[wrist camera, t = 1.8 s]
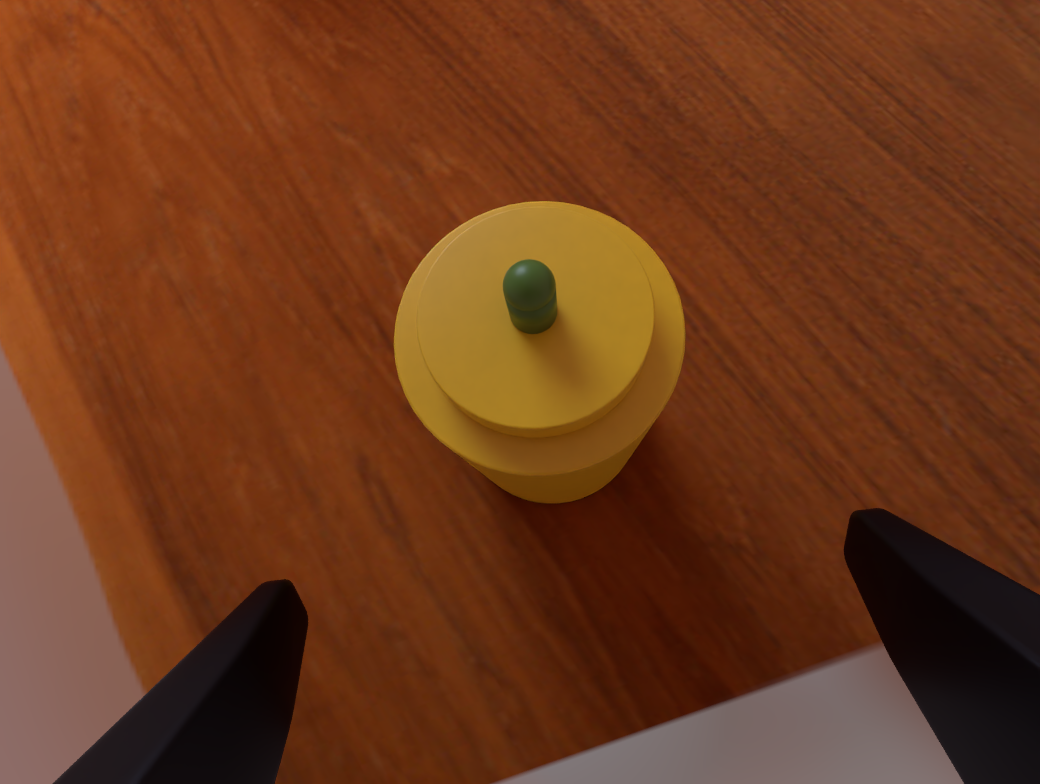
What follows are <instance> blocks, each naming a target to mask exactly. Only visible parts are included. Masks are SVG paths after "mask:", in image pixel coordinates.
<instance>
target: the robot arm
mask: <svg viewBox="0 0 1040 784" xmlns="http://www.w3.org/2000/svg"><path fill="white" fill-rule="evenodd" d="M844 556H845V560H846V563H847V566H848V568H849V570H850V572H851V575H852V577H853V579H854V581H855V583H856V585H857V588H858V590H859V592H860V594H861V596H862V598H863V601H864V603H865V605H866V607H867V609H868V611H869V614H870V616H871V618H872V620H873V622H874V625H875V627H876V629H877V631H878V633H879V635H880V638H881V640H882V642H883V644H884V646H885V648H886V650H887V652H888V654H889V656H890V658H891V660H892V662H893V663H894V665H895V667H896V669H897V670H898V672H899V674H900V676H901V677H902V679H903V681H904V682H905V684H906V686H907V687H908V689H909V691H910V693H911V694H912V696H913V698H914V699H915V701H916V702H917V704H918V706H919V708H920V710H921V711H922V713H923V714H924V716H925V718H926V719H927V721H928V723H929V725H930V726H931V728H932V730H933V731H934V733H935V735H936V736H937V738H938V740H939V742H940V743H941V745H942V747H943V748H944V750H945V752H946V753H947V755H948V757H949V759H950V760H951V762H952V764H953V765H954V767H955V769H956V770H957V772H958V774H959V775H960V777H961V779H962V781H963V782H964V784H1040V595H1039V594H1037V593H1035V592H1034V591H1032V590H1030V589H1028V588H1026V587H1025V586H1023V585H1021V584H1019V583H1017V582H1015V581H1014V580H1012V579H1010V578H1008V577H1006V576H1005V575H1003V574H1001V573H999V572H997V571H995V570H994V569H992V568H990V567H988V566H986V565H985V564H983V563H981V562H979V561H977V560H976V559H974V558H972V557H970V556H968V555H966V554H965V553H963V552H961V551H959V550H957V549H956V548H954V547H952V546H950V545H948V544H947V543H945V542H943V541H941V540H939V539H937V538H936V537H934V536H932V535H930V534H928V533H927V532H925V531H923V530H921V529H919V528H917V527H916V526H914V525H912V524H910V523H908V522H907V521H905V520H903V519H901V518H899V517H898V516H896V515H894V514H892V513H890V512H888V511H886V510H884V509H881V508H873V509H865V510H857V511H854V512H853V513H852V514H851V516H850V519H849V524H848V529H847V534H846V539H845V545H844ZM307 629H308V615H307V611H306V609H305V607H304V605H303V603H302V601H301V599H300V597H299V595H298V593H297V591H296V589H295V587H294V585H293V583H292V582H291V581H289V580H286V579H283V580H275V581H267V582H264V583H262V584H261V585H260V586H258V587H257V588H256V589H255V590H254V591H253V592H252V593H251V594H250V595H249V596H248V597H247V598H246V599H245V600H244V601H243V602H242V603H241V604H240V605H239V606H238V607H237V608H235V609H234V610H233V611H232V612H231V613H230V614H229V615H228V616H227V617H226V618H225V619H224V620H223V621H222V622H221V623H220V624H219V625H218V626H217V627H216V628H215V629H214V630H213V631H211V632H210V633H209V634H208V635H207V636H206V637H205V638H204V639H203V640H202V641H201V642H200V643H199V644H198V645H197V646H196V647H195V648H194V649H193V650H192V651H191V652H190V653H189V654H187V655H186V656H185V657H184V658H183V659H182V660H181V661H180V662H179V663H178V664H177V665H176V666H175V667H174V668H173V669H172V670H171V671H170V672H169V673H168V674H167V675H166V676H165V677H163V678H162V679H161V680H160V681H159V682H158V683H157V684H156V685H155V686H154V687H153V688H152V689H151V690H150V691H149V692H148V693H147V694H146V695H145V696H144V697H143V698H142V699H141V700H139V701H138V702H137V703H136V704H135V705H134V706H133V707H132V708H131V709H130V710H129V711H128V712H127V713H126V714H125V715H124V716H123V717H122V718H121V719H120V720H119V721H118V722H117V723H115V724H114V726H112V727H111V728H110V729H109V730H108V731H107V732H106V733H105V734H104V735H103V736H102V737H101V738H100V739H99V740H98V741H97V742H96V743H95V744H94V745H93V746H92V747H90V748H89V749H88V750H87V751H86V752H85V753H84V754H83V755H82V756H81V757H80V758H79V759H78V760H77V761H76V762H75V763H74V764H73V765H72V766H71V767H70V768H69V769H68V770H67V771H66V772H64V773H63V774H62V775H61V776H60V777H59V778H58V779H57V780H56V781H55V782H54V783H53V784H274V783H275V780H276V776H277V773H278V769H279V765H280V762H281V758H282V754H283V751H284V747H285V744H286V740H287V736H288V732H289V728H290V724H291V720H292V715H293V710H294V705H295V699H296V694H297V688H298V682H299V676H300V670H301V664H302V658H303V652H304V646H305V640H306V635H307Z"/></svg>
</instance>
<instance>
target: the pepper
mask: <svg viewBox="0 0 1040 784" xmlns="http://www.w3.org/2000/svg"><path fill="white" fill-rule="evenodd" d="M685 337H686V333H685V320H684V313H683V309H682V304H681V300H680V297H679V294H678V291H677V289H676V286H675V284H674V281H673V279H672V278H671V276H670V274H669V272H668V270H667V268H666V267H665V265H664V264H663V262H662V261H661V260H660V258H659V257H658V256H657V254H656V253H655V251H654V250H653V249H652V248H651V247H650V246H649V245H648V244H647V243H646V242H645V241H644V240H643V239H642V238H641V237H640V236H638V235H637V234H636V233H635V232H633V231H632V230H631V229H629V228H628V227H627V226H625V225H623V224H622V223H620V222H618V221H617V220H615V219H613V218H611V217H609V216H607V215H605V214H603V213H600V212H598V211H595V210H592V209H589V208H586V207H583V206H579V205H574V204H568V203H563V202H548V201H539V202H524V203H518V204H512V205H508V206H504V207H501V208H497V209H494V210H491V211H488V212H486V213H484V214H481V215H479V216H476V217H474V218H473V219H471V220H469V221H467V222H465V223H464V224H462V225H460V226H459V227H457V228H456V229H455V230H453V231H452V232H450V233H449V234H448V235H446V236H445V237H444V238H443V239H442V240H441V241H440V242H439V243H437V244H436V245H435V246H434V247H433V248H432V249H431V251H430V252H429V253H428V254H427V255H426V256H425V258H424V259H423V260H422V261H421V263H420V264H419V266H418V267H417V269H416V270H415V272H414V273H413V275H412V277H411V279H410V281H409V283H408V285H407V287H406V289H405V291H404V294H403V297H402V299H401V302H400V305H399V308H398V313H397V318H396V323H395V334H394V351H395V362H396V367H397V371H398V376H399V380H400V382H401V385H402V388H403V391H404V393H405V396H406V398H407V400H408V401H409V403H410V405H411V407H412V409H413V411H414V412H415V414H416V415H417V416H418V418H419V419H420V420H421V422H422V423H423V425H424V426H425V427H426V428H427V429H428V430H429V431H430V432H431V433H432V434H433V435H434V436H435V437H436V438H437V439H438V440H439V441H440V442H441V443H443V444H444V445H445V446H446V447H448V448H449V449H450V450H452V451H453V452H454V453H456V454H457V455H458V456H459V457H461V458H462V459H463V460H465V461H466V462H467V463H469V464H470V465H471V466H473V467H474V468H475V469H477V470H478V471H479V472H481V473H482V474H483V475H485V476H486V477H487V478H489V479H490V480H491V481H493V482H494V483H495V484H496V485H498V486H499V487H500V488H502V489H503V490H505V491H507V492H509V493H510V494H512V495H514V496H517V497H519V498H522V499H525V500H529V501H532V502H538V503H546V504H547V503H565V502H571V501H574V500H578V499H581V498H584V497H586V496H588V495H591V494H593V493H594V492H596V491H598V490H600V489H601V488H603V487H604V486H605V485H606V484H608V483H609V482H610V481H611V480H612V479H613V478H614V477H615V476H616V475H617V474H618V473H619V472H620V471H621V469H622V468H623V467H624V465H625V464H626V463H627V461H628V460H629V458H630V457H631V455H632V454H633V452H634V451H635V449H636V448H637V447H638V445H639V444H640V442H641V441H642V439H643V438H644V436H645V435H646V433H647V432H648V431H649V429H650V428H651V426H652V425H653V423H654V422H655V420H656V419H657V417H658V416H659V415H660V413H661V412H662V410H663V409H664V407H665V406H666V404H667V402H668V400H669V398H670V396H671V394H672V392H673V391H674V388H675V386H676V383H677V380H678V377H679V375H680V372H681V367H682V363H683V358H684V353H685Z"/></svg>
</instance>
